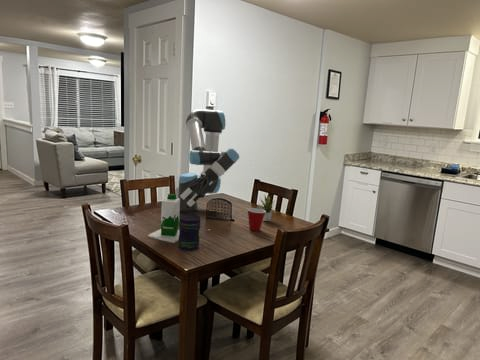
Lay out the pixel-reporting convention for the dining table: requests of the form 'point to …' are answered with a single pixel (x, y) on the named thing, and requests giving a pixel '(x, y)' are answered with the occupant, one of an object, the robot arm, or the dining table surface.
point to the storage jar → (189, 232)
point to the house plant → (266, 205)
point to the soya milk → (170, 215)
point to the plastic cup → (255, 218)
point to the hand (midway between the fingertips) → (184, 201)
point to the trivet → (164, 236)
